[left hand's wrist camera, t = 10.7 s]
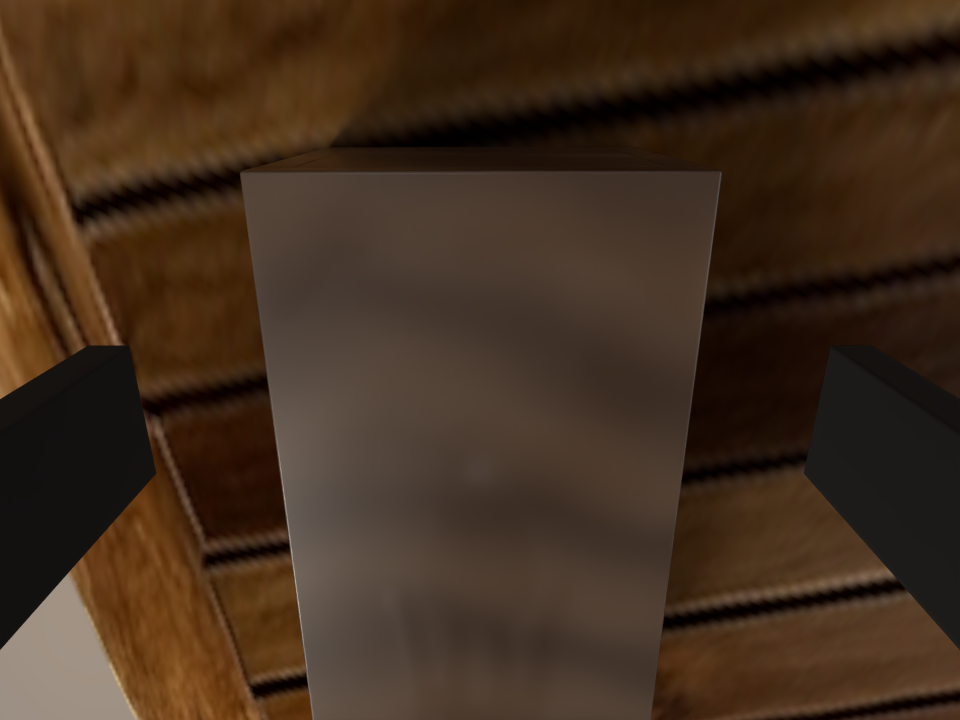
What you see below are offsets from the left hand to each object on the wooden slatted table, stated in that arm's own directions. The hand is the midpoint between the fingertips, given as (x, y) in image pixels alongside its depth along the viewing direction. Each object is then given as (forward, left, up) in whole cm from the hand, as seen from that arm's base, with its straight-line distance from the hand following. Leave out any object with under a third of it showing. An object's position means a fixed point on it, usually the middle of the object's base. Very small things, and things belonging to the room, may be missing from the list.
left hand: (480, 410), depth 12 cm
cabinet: (+1, +6, -14) cm, 16 cm away
